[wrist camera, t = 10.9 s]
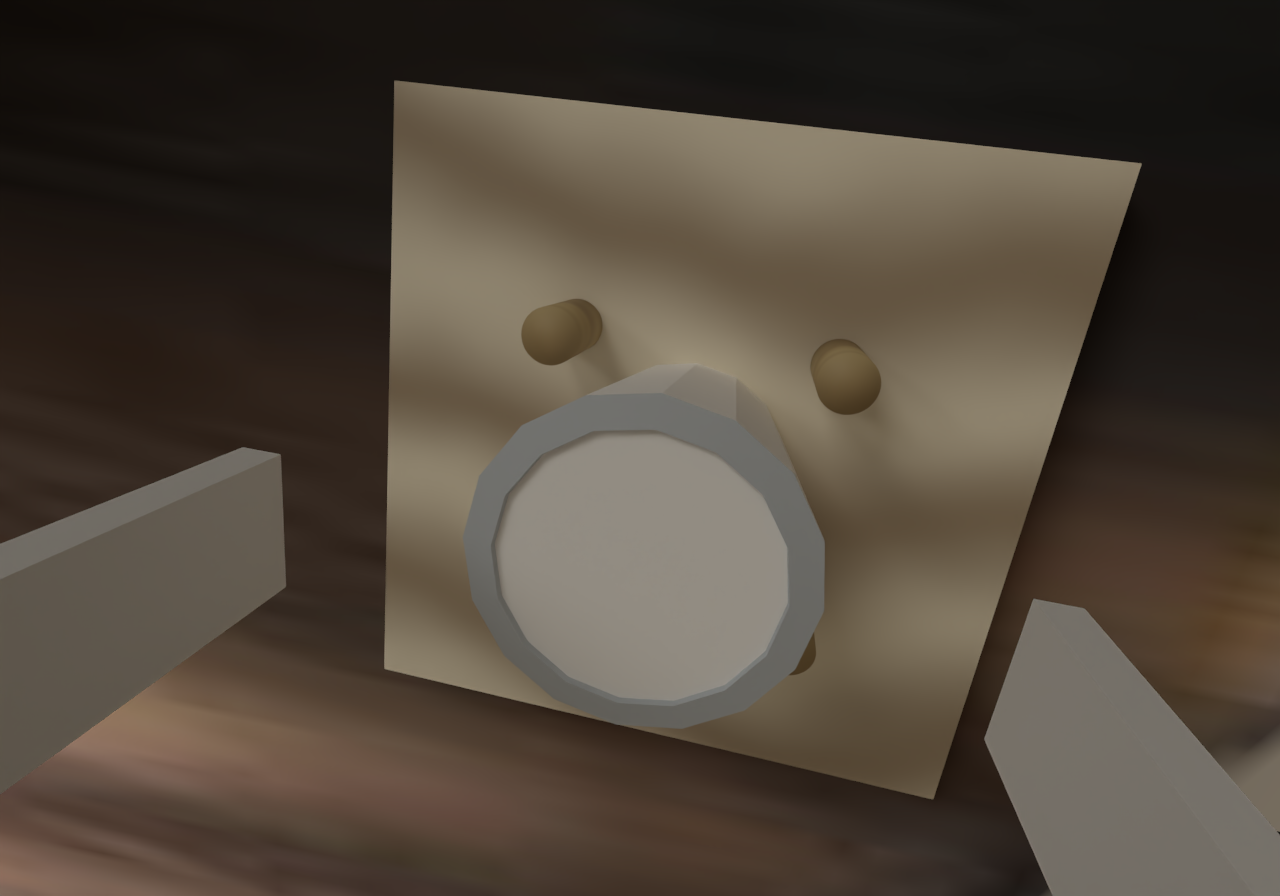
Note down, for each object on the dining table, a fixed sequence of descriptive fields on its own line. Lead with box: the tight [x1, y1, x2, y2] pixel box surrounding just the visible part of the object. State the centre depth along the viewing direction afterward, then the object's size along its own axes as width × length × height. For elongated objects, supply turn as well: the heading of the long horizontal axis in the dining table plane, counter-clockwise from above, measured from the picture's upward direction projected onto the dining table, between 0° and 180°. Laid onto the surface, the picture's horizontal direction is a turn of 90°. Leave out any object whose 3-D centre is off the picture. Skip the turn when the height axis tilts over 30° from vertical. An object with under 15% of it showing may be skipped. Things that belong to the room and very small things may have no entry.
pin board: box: [384, 81, 1141, 800], centre depth 19 cm, size 18×18×4 cm
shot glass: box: [463, 363, 825, 729], centre depth 16 cm, size 7×7×7 cm
